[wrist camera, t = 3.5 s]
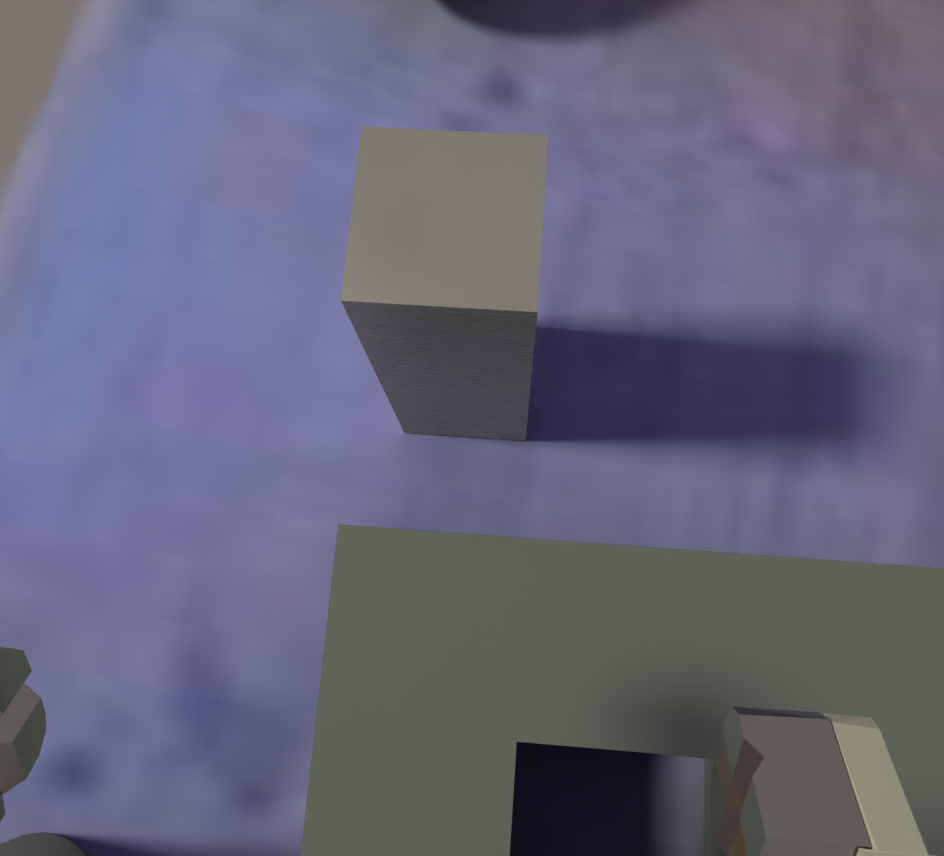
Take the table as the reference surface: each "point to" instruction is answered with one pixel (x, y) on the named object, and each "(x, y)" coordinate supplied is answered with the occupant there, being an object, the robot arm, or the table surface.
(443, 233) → the square bit
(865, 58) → the table surface
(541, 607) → the socket block
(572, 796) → the table surface
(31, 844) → the round bit
